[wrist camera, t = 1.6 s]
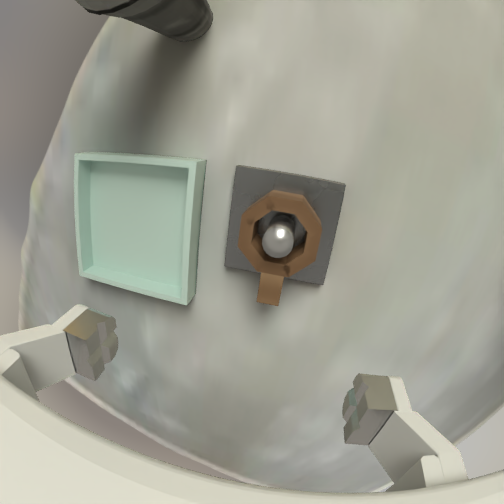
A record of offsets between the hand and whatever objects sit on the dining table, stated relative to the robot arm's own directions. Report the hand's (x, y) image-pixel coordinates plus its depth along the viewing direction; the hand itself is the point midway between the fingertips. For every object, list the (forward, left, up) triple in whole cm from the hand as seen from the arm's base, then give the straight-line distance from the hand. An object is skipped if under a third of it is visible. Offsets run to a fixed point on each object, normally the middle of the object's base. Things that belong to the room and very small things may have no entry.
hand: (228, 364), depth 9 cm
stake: (0, 0, -18) cm, 18 cm away
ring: (0, +2, -17) cm, 17 cm away
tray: (+14, +2, -18) cm, 23 cm away
